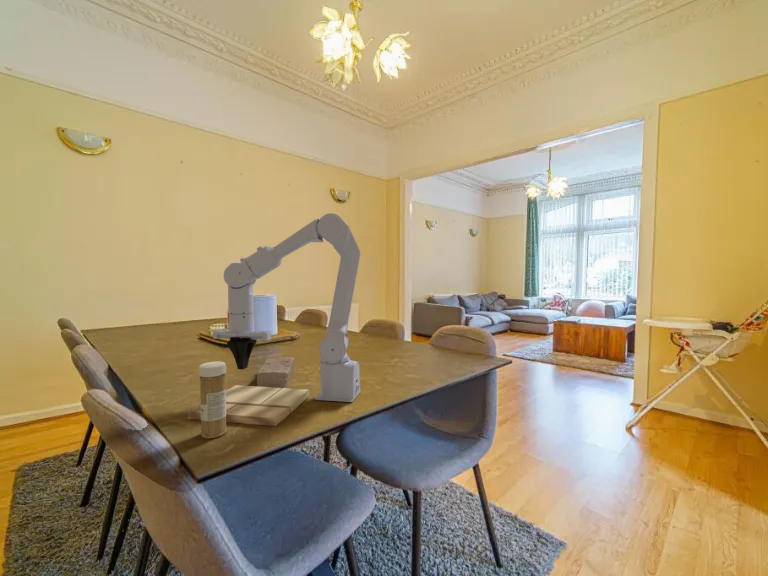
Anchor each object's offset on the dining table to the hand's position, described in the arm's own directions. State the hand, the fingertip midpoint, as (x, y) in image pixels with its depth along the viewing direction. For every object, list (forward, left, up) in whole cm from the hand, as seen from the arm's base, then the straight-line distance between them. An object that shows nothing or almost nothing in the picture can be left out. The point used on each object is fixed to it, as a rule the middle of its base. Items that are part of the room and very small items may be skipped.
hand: (242, 368), depth 84 cm
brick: (-1, -16, -8) cm, 18 cm away
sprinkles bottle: (-6, +19, -7) cm, 21 cm away
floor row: (-6, +10, -7) cm, 14 cm away
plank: (-6, +2, -7) cm, 9 cm away
